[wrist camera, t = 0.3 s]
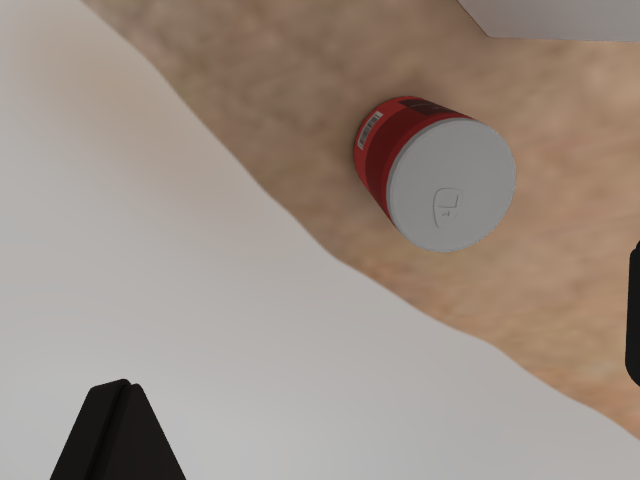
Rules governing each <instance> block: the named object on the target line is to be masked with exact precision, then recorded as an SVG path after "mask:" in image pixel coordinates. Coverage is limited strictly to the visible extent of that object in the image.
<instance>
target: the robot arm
mask: <svg viewBox="0 0 640 480" xmlns="http://www.w3.org/2000/svg"><path fill="white" fill-rule="evenodd" d="M625 366H626V369H627V371H628V374H629V375H630V377H631V378H632V380H633V381H634V382H635V383H636V384H637V385H638V386H640V241H639V242H638V244H637V245H636V249H634V250H633V251H632V252H631V254H630V264H629V286H628V308H627V330H626V352H625ZM50 480H186V478H185V476H184V474H183V472H182V470H181V468H180V466H179V464H178V462H177V460H176V457H175V455H174V453H173V451H172V449H171V447H170V445H169V443H168V441H167V439H166V437H165V434H164V432H163V430H162V428H161V426H160V424H159V422H158V420H157V418H156V416H155V414H154V412H153V410H152V407H151V406H150V403H149V401H148V399H147V397H146V395H145V393H144V391H143V389H142V387H141V386H140V385H139V384H133V385H131V383H130V382H129V381H128V380H127V379H120V380H117V381H113V382H109V383H106V384H102V385H98V386H94V387H92V388H91V389H90V391H89V392H88V394H87V396H86V399H85V401H84V403H83V405H82V408H81V410H80V412H79V414H78V417H77V419H76V421H75V424H74V426H73V428H72V430H71V433H70V435H69V437H68V440H67V442H66V444H65V446H64V448H63V451H62V453H61V455H60V457H59V460H58V462H57V464H56V467H55V469H54V471H53V473H52V475H51V478H50Z"/></svg>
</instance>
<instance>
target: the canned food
mask: <svg viewBox="0 0 640 480" xmlns="http://www.w3.org/2000/svg"><path fill="white" fill-rule="evenodd" d="M354 161H355V167H356V170H357V173H358V175H359V177H360V179H361V180H362V182H363V184H364V185H365V186H366V188H367V189H368V191H369V192H370V193H371V195H372V196H373V197H374V199H375V200H376V202H377V203H378V204H379V206H380V207H381V208H382V210H383V211H384V213H385V214H386V215H387V217H388V218H389V219H390V221H391V222H392V224H393V225H394V226H395V227H396V228H397V230H398V231H399V232H400V233H401V234H402V235H403V236H404V237H405V238H406V239H408V240H409V241H410V242H412V243H413V244H415V245H416V246H418V247H420V248H423V249H426V250H428V251H434V252H453V251H457V250H460V249H464V248H466V247H469V246H471V245H473V244H475V243H477V242H478V241H480V240H481V239H483V238H484V237H486V236H487V235H488V234H489V233H490V232H491V231H492V230H493V229H494V228H495V227H496V226H497V225H498V223H499V222H500V221H501V219H502V218H503V217H504V215H505V213H506V211H507V209H508V208H509V206H510V203H511V200H512V197H513V194H514V190H515V183H516V167H515V162H514V158H513V154H512V152H511V150H510V148H509V146H508V144H507V143H506V142H505V140H504V139H503V138H502V137H501V135H500V134H498V133H497V132H496V131H494V130H493V129H492V128H490V127H489V126H488V125H486V124H484V123H482V122H480V121H478V120H475V119H473V118H471V117H469V116H466V115H463V114H461V113H458V112H456V111H453V110H450V109H448V108H445V107H443V106H440V105H437V104H435V103H432V102H430V101H427V100H424V99H422V98H417V97H412V96H408V97H398V98H394V99H391V100H389V101H387V102H385V103H383V104H381V105H380V106H378V107H377V108H376V109H374V110H373V111H372V112H371V113H370V115H369V116H368V117H367V118H366V119H365V121H364V122H363V124H362V126H361V127H360V130H359V132H358V135H357V137H356V141H355V146H354Z"/></svg>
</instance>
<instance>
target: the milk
mask: <svg viewBox="0 0 640 480" xmlns="http://www.w3.org/2000/svg"><path fill="white" fill-rule="evenodd" d="M457 1H458V2H459V3H460V4H461V6H462V7H463V8H464V9H465V10H466V11H467V12H468V14H469V15H470V16H471V17H472V18H473V19H474V21H475V22H476V23H477V24H478V25H479V26H480V27H481V29H482V30H483V31H484V32H485V33H486V34H487V36H488V37H498V38H528V39H557V40H586V41H615V42H640V0H457Z"/></svg>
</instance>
